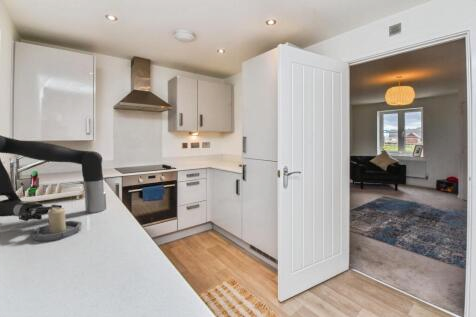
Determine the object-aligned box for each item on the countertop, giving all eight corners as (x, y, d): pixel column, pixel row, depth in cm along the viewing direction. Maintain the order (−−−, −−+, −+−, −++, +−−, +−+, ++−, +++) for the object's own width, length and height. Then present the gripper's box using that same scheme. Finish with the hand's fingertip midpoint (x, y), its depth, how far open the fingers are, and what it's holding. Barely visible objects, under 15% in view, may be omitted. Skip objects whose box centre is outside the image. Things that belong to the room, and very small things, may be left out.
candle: (57, 233, 96) (55, 210, 96) (46, 232, 98) (44, 209, 97) (69, 228, 102) (67, 206, 101) (58, 228, 103) (57, 205, 102)
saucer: (65, 224, 110) (65, 219, 110) (89, 228, 104) (88, 223, 104) (24, 238, 95) (23, 232, 95) (49, 244, 89) (49, 237, 89)
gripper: (8, 206, 99) (31, 210, 93) (45, 198, 112) (68, 201, 107) (9, 223, 100) (33, 228, 94) (46, 213, 113) (69, 217, 107)
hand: (52, 213), depth 100 cm, fingers open, 8 cm apart
